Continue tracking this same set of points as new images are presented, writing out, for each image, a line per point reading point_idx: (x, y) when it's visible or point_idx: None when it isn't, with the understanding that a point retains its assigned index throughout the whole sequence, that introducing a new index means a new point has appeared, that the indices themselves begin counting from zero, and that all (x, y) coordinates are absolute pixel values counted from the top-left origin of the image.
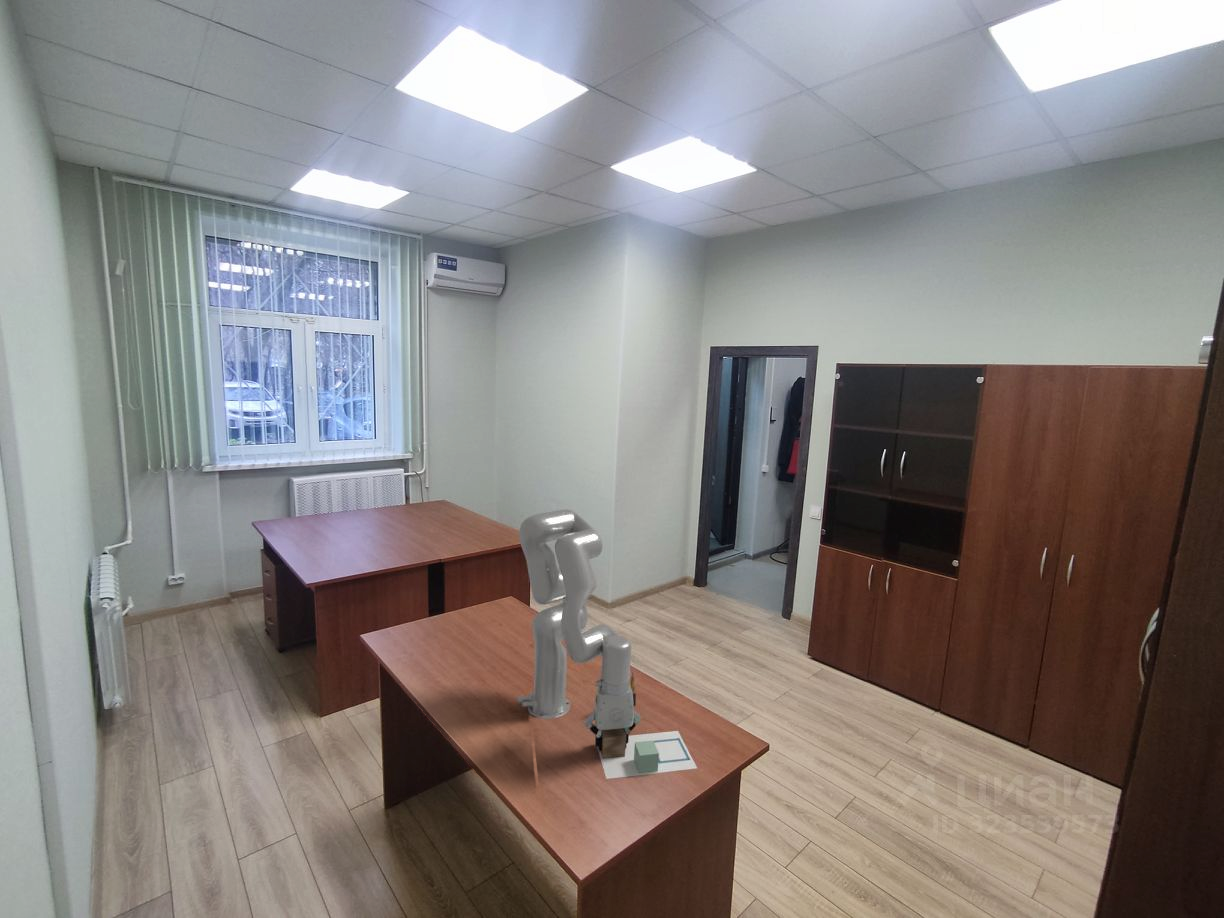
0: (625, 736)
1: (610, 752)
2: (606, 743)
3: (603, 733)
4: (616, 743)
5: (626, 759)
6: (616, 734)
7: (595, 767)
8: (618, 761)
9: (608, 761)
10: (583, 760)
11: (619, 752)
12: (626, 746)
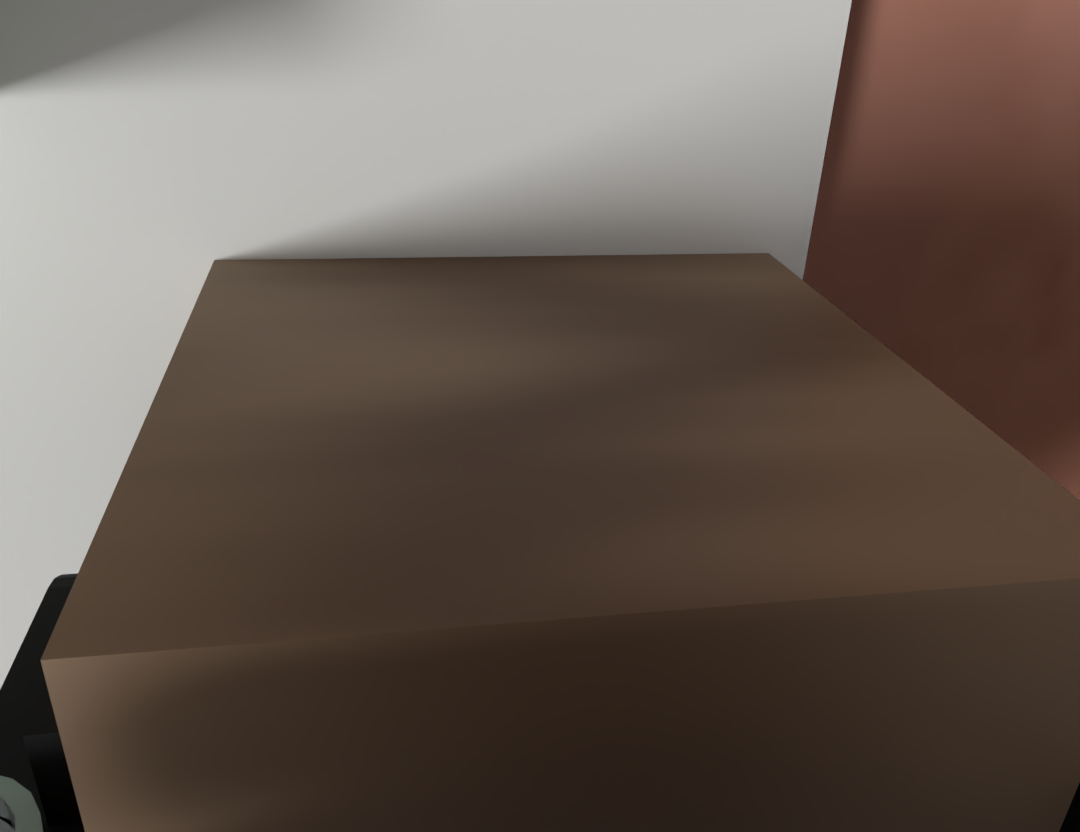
0: (87, 627)
1: (630, 308)
2: (896, 435)
3: (1034, 792)
4: (510, 438)
5: (184, 145)
6: (545, 741)
7: (920, 106)
8: (418, 103)
9: (663, 151)
10: (1046, 333)
11: (367, 305)
12: None
